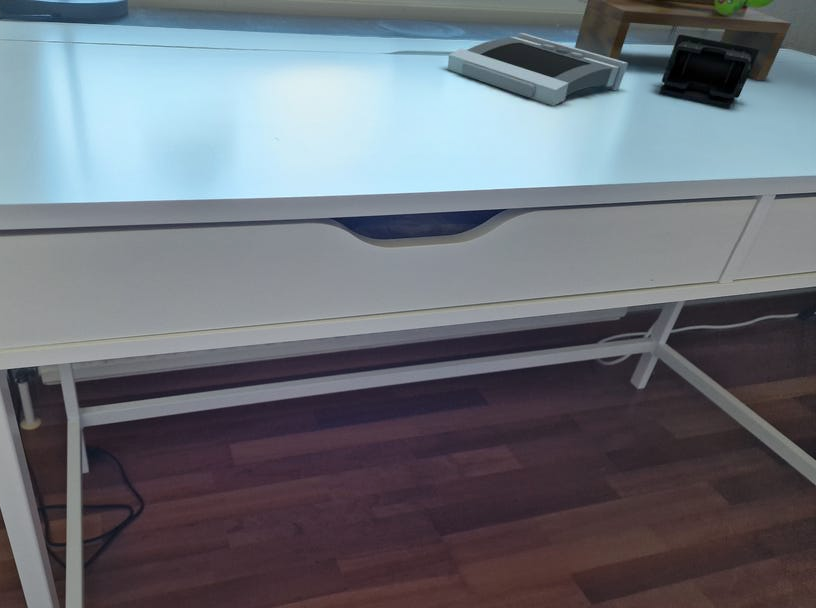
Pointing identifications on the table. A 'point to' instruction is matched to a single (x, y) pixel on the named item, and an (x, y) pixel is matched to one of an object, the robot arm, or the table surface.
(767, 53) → the shoe shelf
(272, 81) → the table surface
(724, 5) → the toy crocodile
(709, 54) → the end cap
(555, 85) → the alarm clock
